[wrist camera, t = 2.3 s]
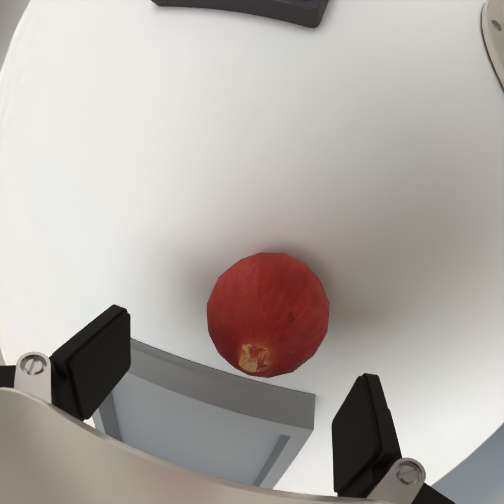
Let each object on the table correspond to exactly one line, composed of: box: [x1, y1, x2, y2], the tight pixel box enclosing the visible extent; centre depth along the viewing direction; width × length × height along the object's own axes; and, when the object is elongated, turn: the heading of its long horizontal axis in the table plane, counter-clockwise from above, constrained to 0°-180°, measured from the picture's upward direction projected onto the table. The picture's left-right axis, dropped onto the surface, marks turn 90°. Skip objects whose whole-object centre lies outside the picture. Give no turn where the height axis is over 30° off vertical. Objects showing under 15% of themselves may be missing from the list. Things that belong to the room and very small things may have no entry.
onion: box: [207, 253, 329, 378], centre depth 13 cm, size 6×6×8 cm
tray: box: [92, 338, 315, 489], centre depth 22 cm, size 18×18×4 cm
